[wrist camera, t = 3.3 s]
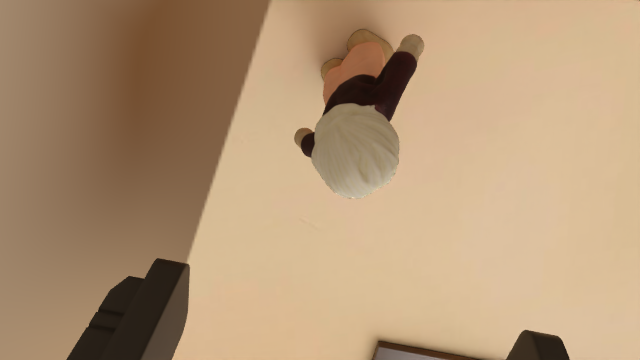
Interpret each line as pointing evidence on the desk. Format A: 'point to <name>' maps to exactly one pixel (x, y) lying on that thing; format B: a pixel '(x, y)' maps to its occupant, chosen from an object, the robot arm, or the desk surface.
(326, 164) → the grandmother figurine
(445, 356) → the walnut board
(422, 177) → the desk surface
